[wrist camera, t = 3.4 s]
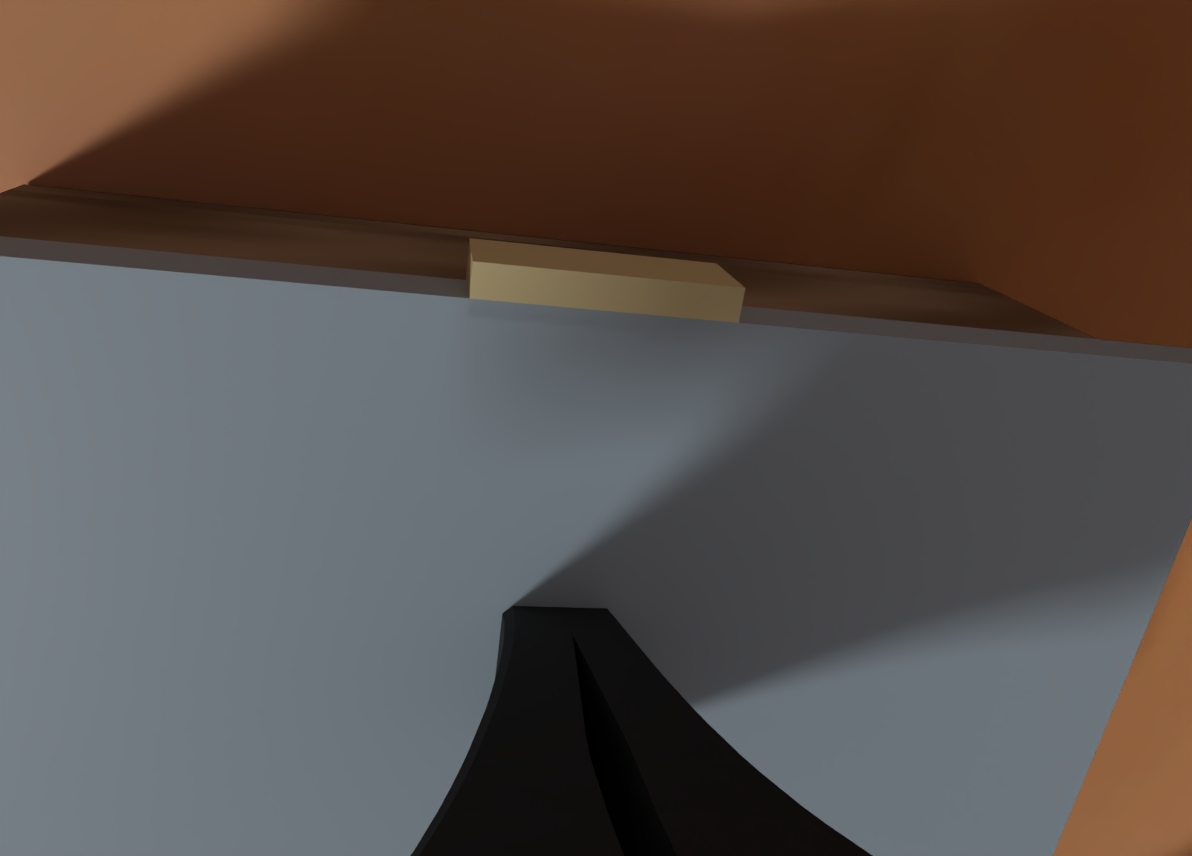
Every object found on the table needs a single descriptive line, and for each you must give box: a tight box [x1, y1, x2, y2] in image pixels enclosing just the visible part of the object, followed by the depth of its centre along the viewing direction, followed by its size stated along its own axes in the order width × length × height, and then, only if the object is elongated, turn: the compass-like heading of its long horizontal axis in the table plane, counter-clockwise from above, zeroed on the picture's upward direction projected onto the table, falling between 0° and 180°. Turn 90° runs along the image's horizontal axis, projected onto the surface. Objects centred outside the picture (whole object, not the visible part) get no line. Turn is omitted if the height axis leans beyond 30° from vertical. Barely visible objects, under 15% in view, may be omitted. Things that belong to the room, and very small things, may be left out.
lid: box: [0, 236, 1192, 856], centre depth 13 cm, size 17×13×1 cm
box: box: [0, 184, 1096, 339], centre depth 16 cm, size 16×12×5 cm
